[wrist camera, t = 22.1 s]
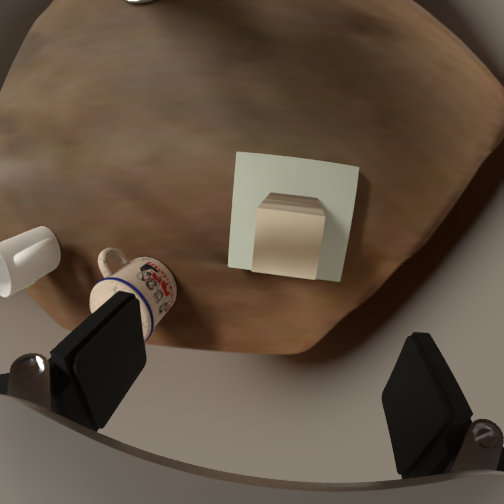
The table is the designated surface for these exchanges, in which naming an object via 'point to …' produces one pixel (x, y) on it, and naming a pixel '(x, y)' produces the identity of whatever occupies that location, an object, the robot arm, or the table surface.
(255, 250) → the ash block
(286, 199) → the walnut block
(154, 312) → the teacup with lid
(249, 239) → the base board
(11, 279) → the mug
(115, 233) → the table surface
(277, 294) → the table surface
